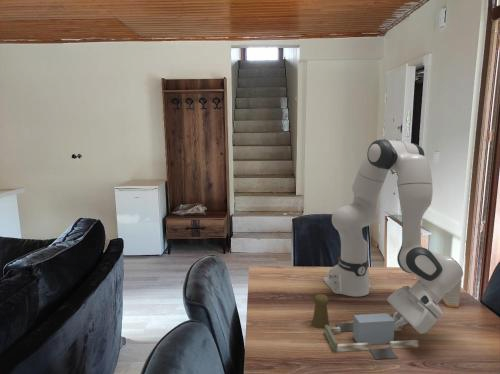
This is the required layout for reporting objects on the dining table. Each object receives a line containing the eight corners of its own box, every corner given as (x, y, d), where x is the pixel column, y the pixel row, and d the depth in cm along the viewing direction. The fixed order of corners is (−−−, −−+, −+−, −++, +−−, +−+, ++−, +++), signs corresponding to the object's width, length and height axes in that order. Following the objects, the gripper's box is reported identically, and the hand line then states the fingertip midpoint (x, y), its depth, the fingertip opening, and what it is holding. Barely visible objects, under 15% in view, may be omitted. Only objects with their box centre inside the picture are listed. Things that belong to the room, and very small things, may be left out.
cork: (310, 320, 135) (311, 292, 134) (326, 319, 136) (327, 291, 134) (314, 328, 129) (315, 300, 128) (331, 327, 130) (332, 299, 128)
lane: (394, 321, 134) (395, 314, 133) (426, 356, 113) (427, 347, 113) (320, 325, 132) (320, 317, 131) (339, 361, 111) (339, 352, 110)
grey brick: (386, 334, 125) (387, 313, 124) (393, 343, 120) (394, 320, 119) (352, 336, 124) (353, 315, 123) (358, 345, 119) (359, 322, 118)
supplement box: (459, 308, 144) (462, 276, 142) (446, 306, 145) (449, 275, 142) (452, 298, 152) (455, 268, 150) (440, 297, 153) (442, 268, 150)
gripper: (400, 278, 131) (373, 305, 132) (433, 305, 111) (401, 336, 112) (411, 289, 132) (384, 315, 133) (446, 318, 112) (414, 348, 113)
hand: (392, 325), depth 122 cm, fingers closed, pressing on grey brick
